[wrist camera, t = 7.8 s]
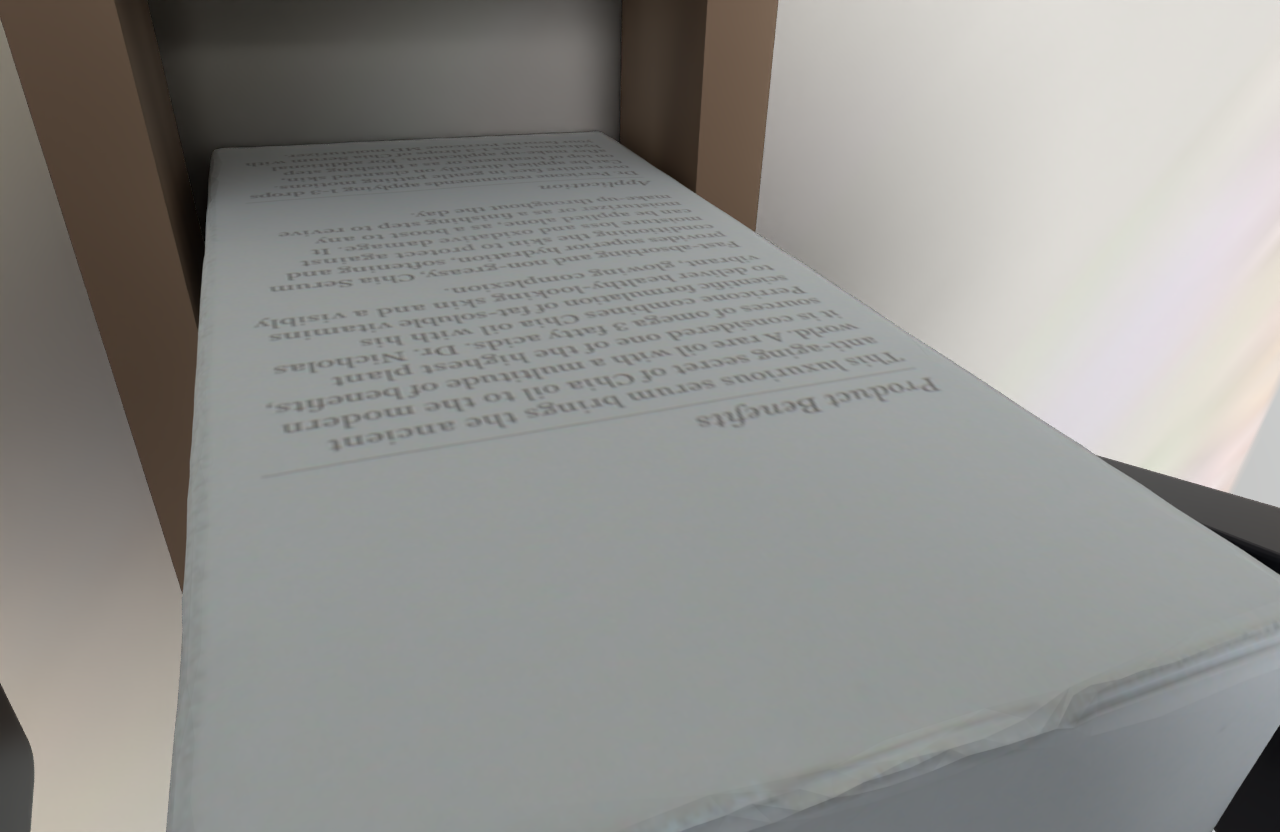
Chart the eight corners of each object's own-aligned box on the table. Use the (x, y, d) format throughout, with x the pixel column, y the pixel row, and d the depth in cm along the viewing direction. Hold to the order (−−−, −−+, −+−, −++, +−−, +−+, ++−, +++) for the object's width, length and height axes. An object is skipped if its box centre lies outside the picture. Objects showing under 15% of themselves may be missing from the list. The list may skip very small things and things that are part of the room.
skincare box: (262, 406, 14) (304, 1443, 5) (206, 141, 12) (80, 1057, 3) (608, 358, 16) (1129, 1010, 7) (613, 123, 14) (1389, 596, 5)
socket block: (686, -98, 13) (787, -98, 10) (658, 480, 18) (721, 569, 16) (23, -123, 10) (-47, -130, 8) (218, 570, 15) (214, 695, 13)
